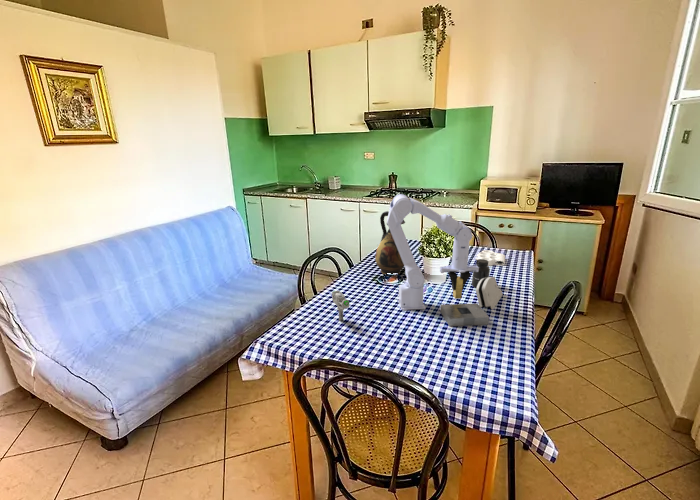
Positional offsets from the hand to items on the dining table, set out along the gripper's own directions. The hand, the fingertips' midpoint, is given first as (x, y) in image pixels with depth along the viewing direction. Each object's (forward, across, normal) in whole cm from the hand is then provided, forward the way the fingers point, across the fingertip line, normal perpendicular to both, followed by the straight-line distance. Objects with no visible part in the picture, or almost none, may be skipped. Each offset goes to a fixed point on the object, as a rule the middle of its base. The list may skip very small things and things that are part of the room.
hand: (457, 289), depth 143 cm
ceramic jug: (+7, -21, +38) cm, 44 cm away
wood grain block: (+3, 0, 0) cm, 3 cm away
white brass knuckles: (+7, +34, +49) cm, 60 cm away
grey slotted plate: (+7, -1, -11) cm, 13 cm away
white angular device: (+7, +14, +4) cm, 16 cm away
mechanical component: (+7, -46, -9) cm, 47 cm away
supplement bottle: (+7, +16, +17) cm, 24 cm away
